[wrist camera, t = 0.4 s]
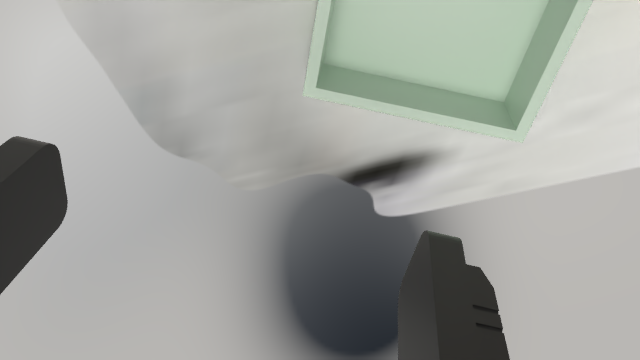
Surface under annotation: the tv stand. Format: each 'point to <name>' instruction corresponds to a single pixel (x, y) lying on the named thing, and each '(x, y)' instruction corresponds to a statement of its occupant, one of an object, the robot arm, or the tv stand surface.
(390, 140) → the tv stand surface
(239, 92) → the tv stand surface
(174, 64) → the tv stand surface
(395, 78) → the tote
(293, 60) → the tv stand surface
